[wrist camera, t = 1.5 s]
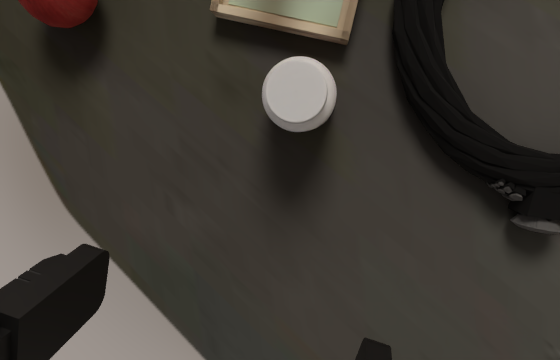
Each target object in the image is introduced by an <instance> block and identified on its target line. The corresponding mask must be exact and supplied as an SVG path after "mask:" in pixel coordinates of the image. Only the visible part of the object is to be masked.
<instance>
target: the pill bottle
mask: <svg viewBox="0 0 560 360" xmlns="http://www.w3.org/2000/svg"><path fill="white" fill-rule="evenodd" d="M336 97H337V90H336V84H335V81H334V79H333V77H332V75H331V73H330V72H329V70H328V69H327V68H326V67H325V66H324V65H323V64H322V63H320V62H319V61H317V60H315V59H313V58H310V57H305V56H296V57H290V58H287V59H285V60H283V61H281V62H279V63H278V64H276V65H275V66H274V67H273V68H272V69H271V70H270V72H269V73H268V74H267V76H266V78H265V81H264V84H263V88H262V101H263V105H264V108H265V111H266V113H267V114H268V116H269V117H270V119H271V120H272V121H273V122H274V123H275V124H276V125H278V126H279V127H280V128H283V129H285V130H287V131H291V132H304V131H309V130H313V129H315V128H317V127H319V126H321V125H322V124H324V123H325V122H326V121H327V120H328V118H329V117H330V116H331V114H332V112H333V110H334V107H335V104H336Z"/></svg>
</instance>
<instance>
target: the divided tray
mask: <svg viewBox="0 0 560 360" xmlns="http://www.w3.org/2000/svg"><path fill="white" fill-rule="evenodd" d="M357 3H358V0H212V1H211V6H210V11H211V12H212V13H213V14H214V15H215V16H216V17H219V18H223V19H228V20H232V21H237V22H242V23H246V24H251V25H255V26H260V27H265V28H269V29H274V30H279V31H283V32H288V33H292V34H297V35H302V36H306V37H311V38H315V39H320V40H325V41H329V42H334V43H339V44H343V45H347V43H348V40H349V36H350V32H351V28H352V23H353V19H354V15H355V11H356V7H357Z"/></svg>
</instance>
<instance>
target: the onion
mask: <svg viewBox="0 0 560 360" xmlns="http://www.w3.org/2000/svg"><path fill="white" fill-rule="evenodd" d="M18 1H19V2H20V4H21V5H22V6H23V7H24V8H25V9H26V10H27V11H28V12H29V13H30V14H31V15H32V16H33V17H35V18H36V19H38V20H40V21H42V22H43V23H45V24H47V25H49V26H52V27H62V28H72V27H74V26H77V25H79V24H82V23H84V22H85V21H86V20H87V19H88V18H89V17H90V16H91V15H92V14H93V12H94V10H95V8H96V6H97V3H98V0H18Z"/></svg>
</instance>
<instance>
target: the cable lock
mask: <svg viewBox="0 0 560 360" xmlns="http://www.w3.org/2000/svg"><path fill="white" fill-rule="evenodd" d="M443 2H444V0H394V25H393V32H392V34H393V40H394V47H395V53H396V60H397V66H398V70H399V72H400V75H401V78H402V81H403V85H404V89H405V92H406V96H407V100H408V102H409V103H410V105H411V106H412V108H413V110H414V111H415V113H416V114H417V116H418V117H419V119H420V121H421V122H422V124H423V125H424V127H425V128H426V130H427V131H428V132H429V133H430V135H431V136H432V137H433V138H434V139H435V141H436V142H437V143H438V145H439V146H440V147H441V149H442V150H443V151H444V152H445V153H446V154H447V155H448V156H450V157H451V158H452V159H453V160H454V161H456V162H457V163H458V164H459V165H460V166H461V167H463V168H464V169H465V170H466V171H468V172H470V173H472V174H473V175H475V176H477V177H479V178H481V179H483V180H485V181H486V183H487V185H488V186H489V187H491V188H494V189H495V190H496V191H498V192H499V193H500V194H502V196H503V197H505V198H507V199H509V200H511V201H510V204H509V206H508V208H510V209H512V210H514V211H517V213H518V214H517V215H516V216H514V217H513V218H512V219H510V220H511V221H512V222H513V223H514V224H515V225H516V226H517V227H520V228H523V229H526V230H529V231H532V232H539V233H545V234H551V235H554V234H558V233H560V222H559V221H560V154H549V153H545V152H541V151H538V150H534V149H530V148H527V147H523V146H519V145H516V144H514V143H512V142H510V141H508V140H507V139H505V138H504V137H503V136H502V135H500V134H499V133H498V132H497V131H495V130H494V129H493V128H491V127H490V126H489V125H488V124H486V123H485V122H484V121H483V120H481V119H480V118H479V117H478V116H476V115H475V114H474V113H473V112H471V110H470V108H469V107H468V105H467V103H466V101H465V99H464V97H463V95H462V93H461V92H460V90H459V88H458V86H457V84H456V82H455V80H454V78H453V77H452V75H451V73H450V71H449V69H448V67H447V64H446V59H445V49H444V39H443V29H442V19H441V9H442V5H443Z"/></svg>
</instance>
